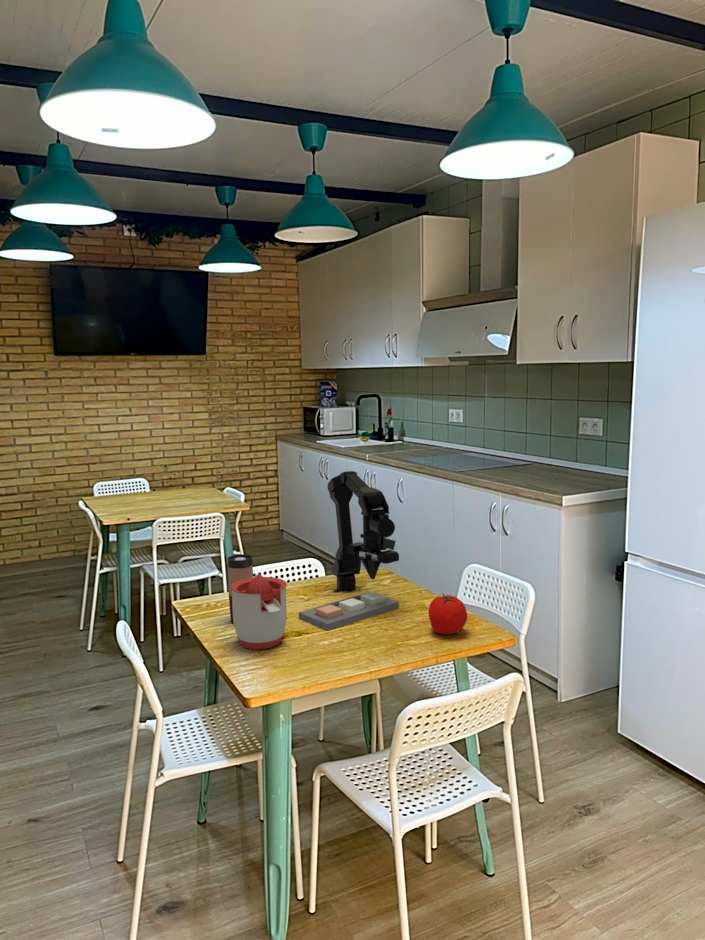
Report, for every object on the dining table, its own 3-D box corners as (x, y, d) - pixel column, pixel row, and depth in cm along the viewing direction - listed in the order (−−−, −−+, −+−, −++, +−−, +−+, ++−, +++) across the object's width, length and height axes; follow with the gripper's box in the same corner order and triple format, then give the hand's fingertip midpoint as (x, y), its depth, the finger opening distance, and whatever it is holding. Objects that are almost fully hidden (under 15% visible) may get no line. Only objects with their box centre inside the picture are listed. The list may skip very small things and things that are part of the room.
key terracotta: (316, 616, 214) (315, 608, 213) (330, 612, 217) (330, 604, 217) (327, 621, 210) (327, 613, 209) (342, 616, 213) (342, 608, 213)
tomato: (441, 622, 213) (441, 587, 212) (474, 630, 206) (475, 594, 205) (419, 634, 204) (418, 597, 203) (453, 643, 197) (453, 604, 196)
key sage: (360, 603, 225) (360, 595, 225) (373, 599, 229) (373, 591, 229) (372, 607, 221) (372, 599, 221) (385, 603, 225) (385, 595, 224)
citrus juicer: (250, 660, 188) (247, 587, 185) (224, 640, 202) (221, 572, 200) (301, 647, 196) (299, 577, 194) (273, 628, 211) (270, 563, 208)
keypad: (298, 621, 216) (298, 611, 216) (369, 600, 235) (369, 591, 235) (327, 634, 206) (327, 623, 205) (398, 610, 224) (398, 600, 224)
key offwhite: (339, 609, 220) (338, 602, 219) (352, 605, 223) (352, 598, 223) (350, 613, 215) (350, 606, 215) (364, 609, 219) (364, 602, 219)
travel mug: (259, 618, 220) (257, 555, 217) (246, 626, 213) (243, 561, 210) (239, 615, 223) (236, 553, 221) (224, 622, 216) (222, 559, 214)
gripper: (411, 531, 220) (411, 580, 222) (371, 522, 234) (371, 568, 236) (385, 537, 213) (386, 587, 215) (345, 527, 227) (346, 574, 229)
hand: (372, 578), depth 224 cm, fingers closed
